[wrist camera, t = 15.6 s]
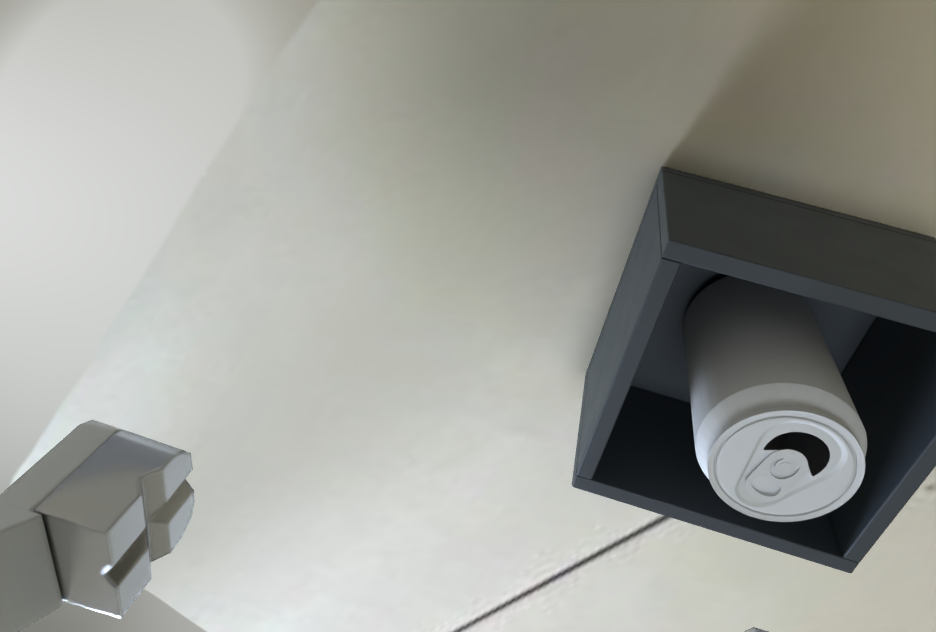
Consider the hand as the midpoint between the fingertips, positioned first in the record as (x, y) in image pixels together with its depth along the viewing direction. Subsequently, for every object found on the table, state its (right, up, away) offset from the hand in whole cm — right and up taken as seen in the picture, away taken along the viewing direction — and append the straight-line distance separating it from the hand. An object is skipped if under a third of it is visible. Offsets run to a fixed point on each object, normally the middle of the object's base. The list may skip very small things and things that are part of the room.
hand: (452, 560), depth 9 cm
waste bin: (+15, +4, +27) cm, 31 cm away
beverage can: (+15, +3, +27) cm, 31 cm away
